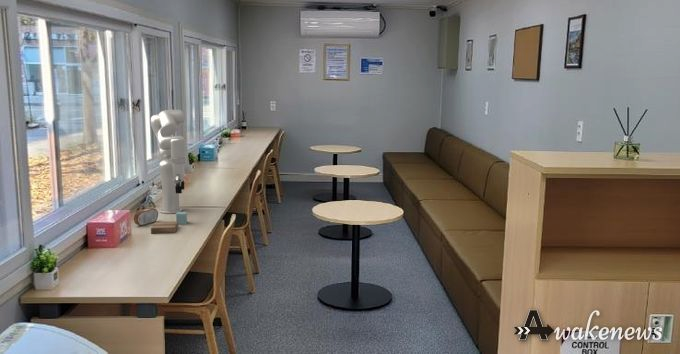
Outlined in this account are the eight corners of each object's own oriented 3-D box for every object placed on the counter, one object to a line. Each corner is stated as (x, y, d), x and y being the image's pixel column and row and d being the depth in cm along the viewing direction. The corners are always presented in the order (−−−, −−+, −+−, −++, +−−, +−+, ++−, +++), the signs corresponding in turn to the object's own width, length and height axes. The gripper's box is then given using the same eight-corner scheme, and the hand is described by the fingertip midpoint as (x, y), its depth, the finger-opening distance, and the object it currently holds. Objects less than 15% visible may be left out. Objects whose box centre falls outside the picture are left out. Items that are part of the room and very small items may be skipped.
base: (155, 227, 309) (155, 222, 309) (178, 226, 311) (177, 221, 310) (151, 233, 298) (150, 228, 297) (174, 233, 299) (174, 227, 299)
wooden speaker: (155, 220, 323) (154, 206, 322) (159, 221, 322) (158, 206, 320) (133, 226, 311) (132, 211, 309) (137, 227, 309) (136, 212, 308)
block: (177, 222, 320) (177, 211, 319) (187, 222, 320) (186, 211, 319) (176, 224, 315) (176, 214, 314) (185, 224, 316) (185, 213, 314)
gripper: (174, 158, 319) (175, 188, 322) (168, 163, 302) (170, 195, 305) (187, 158, 320) (189, 187, 323) (183, 163, 303) (184, 194, 306)
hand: (180, 191), depth 314 cm, fingers open, 9 cm apart
